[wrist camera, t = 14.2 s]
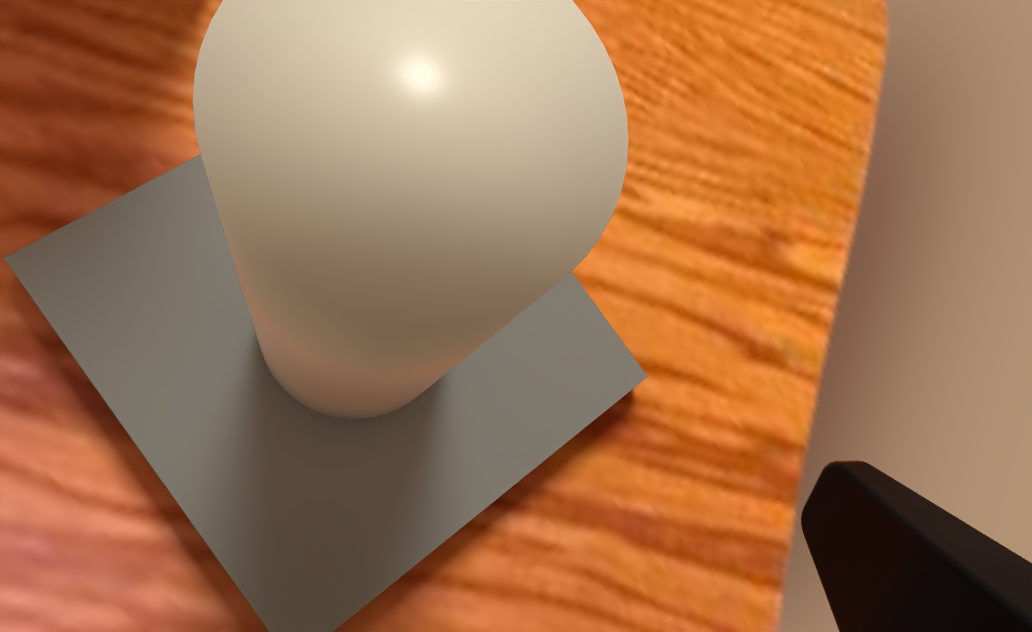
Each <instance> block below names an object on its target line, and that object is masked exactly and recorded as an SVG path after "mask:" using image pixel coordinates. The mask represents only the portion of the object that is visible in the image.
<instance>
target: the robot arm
mask: <svg viewBox="0 0 1032 632" xmlns="http://www.w3.org/2000/svg"><path fill="white" fill-rule="evenodd" d="M801 525H802V531H803V534H804V537H805V539H806V542H807V545H808V548H809V550H810V553H811V556H812V558H813V561H814V564H815V566H816V569H817V572H818V574H819V577H820V580H821V583H822V585H823V588H824V591H825V594H826V596H827V599H828V602H829V604H830V607H831V610H832V612H833V615H834V618H835V621H836V623H837V626H838V629H839V631H840V632H1032V563H1030V562H1029V561H1027V560H1025V559H1024V558H1022V557H1021V556H1019V555H1017V554H1016V553H1014V552H1012V551H1011V550H1009V549H1007V548H1006V547H1004V546H1003V545H1001V544H999V543H998V542H996V541H994V540H993V539H991V538H989V537H988V536H986V535H984V534H983V533H981V532H979V531H978V530H976V529H975V528H973V527H971V526H970V525H968V524H966V523H965V522H963V521H962V520H960V519H958V518H957V517H955V516H953V515H952V514H950V513H948V512H947V511H945V510H943V509H942V508H940V507H939V506H937V505H935V504H934V503H932V502H930V501H929V500H927V499H925V498H924V497H922V496H921V495H919V494H917V493H916V492H914V491H912V490H911V489H909V488H908V487H906V486H904V485H903V484H901V483H899V482H898V481H896V480H894V479H893V478H891V477H890V476H888V475H886V474H885V473H883V472H881V471H880V470H878V469H876V468H875V467H873V466H871V465H870V464H868V463H865V462H863V461H834V462H830V463H829V464H828V465H826V466H825V467H824V469H823V470H822V472H821V474H820V476H819V478H818V480H817V482H816V484H815V486H814V488H813V490H812V492H811V494H810V496H809V498H808V500H807V502H806V504H805V506H804V508H803V511H802V516H801Z"/></svg>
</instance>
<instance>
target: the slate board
mask: <svg viewBox="0 0 1032 632" xmlns="http://www.w3.org/2000/svg"><path fill="white" fill-rule="evenodd" d="M4 260H5V261H6V263H7V264H8V266H9V267H10V268H11V270H12V271H13V273H14V274H15V275H16V277H17V278H18V280H19V281H20V282H21V284H22V285H23V287H24V288H25V289H26V291H27V292H28V294H29V295H30V296H31V298H32V299H33V301H34V302H35V303H36V305H37V306H38V308H39V309H40V311H41V312H42V313H43V315H44V316H45V318H46V319H47V320H48V322H49V323H50V325H51V326H52V327H53V329H54V330H55V332H56V333H57V334H58V336H59V337H60V339H61V340H62V341H63V343H64V344H65V346H66V347H67V348H68V350H69V351H70V353H71V354H72V355H73V357H74V358H75V360H76V361H77V363H78V364H79V365H80V367H81V368H82V370H83V371H84V372H85V374H86V375H87V377H88V378H89V379H90V381H91V382H92V384H93V385H94V386H95V388H96V389H97V391H98V392H99V393H100V395H101V396H102V398H103V399H104V400H105V402H106V403H107V405H108V406H109V408H110V409H111V410H112V412H113V413H114V415H115V416H116V417H117V419H118V420H119V422H120V423H121V424H122V426H123V427H124V429H125V430H126V431H127V433H128V434H129V436H130V437H131V438H132V440H133V441H134V443H135V444H136V445H137V447H138V448H139V450H140V451H141V452H142V454H143V455H144V457H145V458H146V460H147V461H148V462H149V464H150V465H151V467H152V468H153V469H154V471H155V472H156V474H157V475H158V476H159V478H160V479H161V481H162V482H163V483H164V485H165V486H166V488H167V489H168V490H169V492H170V493H171V495H172V496H173V497H174V499H175V500H176V502H177V503H178V504H179V506H180V507H181V509H182V510H183V512H184V513H185V514H186V516H187V517H188V519H189V520H190V521H191V523H192V524H193V526H194V527H195V528H196V530H197V531H198V533H199V534H200V535H201V537H202V538H203V540H204V541H205V542H206V544H207V545H208V547H209V548H210V549H211V551H212V552H213V554H214V555H215V557H216V558H217V559H218V561H219V562H220V564H221V565H222V566H223V568H224V569H225V571H226V572H227V573H228V575H229V576H230V578H231V579H232V580H233V582H234V583H235V585H236V586H237V587H238V589H239V590H240V592H241V593H242V594H243V596H244V597H245V599H246V600H247V601H248V603H249V604H250V606H251V607H252V609H253V610H254V611H255V613H256V614H257V616H258V617H259V618H260V620H261V621H262V623H263V624H264V625H265V627H266V628H267V630H268V631H269V632H334V631H335V630H336V629H337V628H339V627H340V626H341V625H342V624H344V623H345V622H346V621H347V620H348V619H350V618H351V617H352V616H353V615H355V614H356V613H357V612H358V611H360V610H361V609H362V608H363V607H365V606H366V605H367V604H368V603H369V602H371V601H372V600H373V599H374V598H376V597H377V596H378V595H379V594H381V593H382V592H383V591H384V590H385V589H387V588H388V587H389V586H390V585H392V584H393V583H394V582H395V581H397V580H398V579H399V578H400V577H401V576H403V575H404V574H405V573H406V572H408V571H409V570H410V569H411V568H413V567H414V566H415V565H416V564H418V563H419V562H420V561H421V560H422V559H424V558H425V557H426V556H427V555H429V554H430V553H431V552H432V551H434V550H435V549H436V548H437V547H438V546H440V545H441V544H442V543H443V542H445V541H446V540H447V539H448V538H450V537H451V536H452V535H453V534H454V533H456V532H457V531H458V530H459V529H461V528H462V527H463V526H464V525H466V524H467V523H468V522H469V521H471V520H472V519H473V518H474V517H475V516H477V515H478V514H479V513H480V512H482V511H483V510H484V509H485V508H487V507H488V506H489V505H490V504H491V503H493V502H494V501H495V500H496V499H498V498H499V497H500V496H501V495H503V494H504V493H505V492H506V491H508V490H509V489H510V488H511V487H512V486H514V485H515V484H516V483H517V482H519V481H520V480H521V479H522V478H524V477H525V476H526V475H527V474H528V473H530V472H531V471H532V470H533V469H535V468H536V467H537V466H538V465H540V464H541V463H542V462H543V461H544V460H546V459H547V458H548V457H549V456H551V455H552V454H553V453H554V452H556V451H557V450H558V449H559V448H561V447H562V446H563V445H564V444H565V443H567V442H568V441H569V440H570V439H572V438H573V437H574V436H575V435H577V434H578V433H579V432H580V431H581V430H583V429H584V428H585V427H586V426H588V425H589V424H590V423H591V422H593V421H594V420H595V419H596V418H597V417H599V416H600V415H601V414H602V413H604V412H605V411H606V410H607V409H609V408H610V407H611V406H612V405H614V404H615V403H616V402H617V401H618V400H620V399H621V398H622V397H623V396H625V395H626V394H627V393H628V392H630V391H631V390H632V389H633V388H634V387H636V386H637V385H638V384H639V383H641V382H642V381H643V380H644V379H646V378H647V377H648V376H647V375H646V373H645V372H644V371H643V369H642V368H641V367H640V365H639V364H638V362H637V361H636V360H635V358H634V357H633V356H632V354H631V353H630V351H629V350H628V349H627V347H626V346H625V345H624V343H623V342H622V340H621V339H620V338H619V336H618V335H617V334H616V332H615V331H614V329H613V328H612V327H611V325H610V324H609V323H608V321H607V320H606V318H605V317H604V316H603V314H602V313H601V312H600V310H599V309H598V307H597V306H596V305H595V303H594V302H593V301H592V299H591V298H590V296H589V295H588V294H587V292H586V291H585V290H584V288H583V287H582V285H581V284H580V283H579V281H578V280H577V279H576V277H575V276H574V274H573V273H572V272H570V273H569V274H568V275H567V276H566V277H565V278H564V279H562V280H561V281H560V282H559V283H557V284H556V285H555V286H554V287H552V288H551V289H550V290H549V291H547V292H546V293H545V294H544V295H542V296H541V297H540V298H539V299H538V300H536V301H535V302H534V303H533V304H531V305H530V306H529V307H528V308H526V309H525V310H524V311H523V312H521V313H520V314H519V315H518V316H517V317H515V318H514V319H513V320H512V321H510V322H509V323H508V324H507V325H505V326H504V327H503V328H502V329H500V330H499V331H498V332H497V333H496V334H494V335H493V336H492V337H491V338H489V339H488V340H487V341H486V342H484V343H483V344H482V345H481V346H479V347H478V348H477V349H476V350H475V351H473V352H472V353H471V354H470V355H468V356H467V357H466V358H465V359H463V360H462V361H461V362H460V363H458V364H457V365H456V366H455V367H454V368H452V369H451V370H450V371H449V372H447V373H446V374H445V375H444V376H442V377H441V378H440V379H439V380H437V381H436V382H435V383H434V384H433V385H431V386H430V387H429V388H428V389H426V390H425V391H424V392H423V393H421V394H420V395H419V396H418V397H416V398H415V399H414V400H412V401H411V402H410V403H408V404H407V405H405V406H403V407H401V408H400V409H398V410H395V411H393V412H391V413H388V414H385V415H382V416H378V417H374V418H367V419H343V418H335V417H331V416H328V415H324V414H321V413H319V412H316V411H314V410H311V409H309V408H308V407H306V406H304V405H303V404H301V403H299V402H298V401H297V400H295V399H294V398H293V397H291V396H290V395H289V394H288V393H287V392H286V391H285V390H284V389H283V388H282V387H281V386H280V385H279V383H278V382H277V381H276V379H275V378H274V377H273V375H272V374H271V372H270V370H269V368H268V366H267V365H266V362H265V360H264V357H263V354H262V352H261V348H260V345H259V342H258V339H257V335H256V332H255V329H254V326H253V323H252V319H251V316H250V313H249V310H248V306H247V303H246V300H245V297H244V293H243V290H242V287H241V284H240V280H239V277H238V274H237V271H236V268H235V264H234V261H233V258H232V255H231V251H230V248H229V245H228V242H227V238H226V235H225V232H224V229H223V225H222V222H221V219H220V216H219V213H218V209H217V206H216V203H215V200H214V196H213V193H212V190H211V187H210V183H209V180H208V177H207V174H206V170H205V167H204V164H203V161H202V157H201V154H200V155H198V156H196V157H194V158H192V159H191V160H189V161H187V162H185V163H183V164H181V165H179V166H177V167H175V168H173V169H172V170H170V171H168V172H166V173H164V174H162V175H160V176H158V177H156V178H154V179H153V180H151V181H149V182H147V183H145V184H143V185H141V186H139V187H137V188H135V189H134V190H132V191H130V192H128V193H126V194H124V195H122V196H120V197H118V198H116V199H115V200H113V201H111V202H109V203H107V204H105V205H103V206H101V207H99V208H97V209H96V210H94V211H92V212H90V213H88V214H86V215H84V216H82V217H80V218H78V219H77V220H75V221H73V222H71V223H69V224H67V225H65V226H63V227H61V228H59V229H58V230H56V231H54V232H52V233H50V234H48V235H46V236H44V237H42V238H40V239H39V240H37V241H35V242H33V243H31V244H29V245H27V246H25V247H23V248H21V249H20V250H18V251H16V252H14V253H12V254H10V255H8V256H6V257H4Z"/></svg>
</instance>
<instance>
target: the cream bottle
mask: <svg viewBox="0 0 1032 632" xmlns="http://www.w3.org/2000/svg"><path fill="white" fill-rule="evenodd" d="M193 110H194V123H195V132H196V136H197V140H198V144H199V149H200V153H201V157H202V161H203V164H204V167H205V170H206V174H207V177H208V180H209V183H210V187H211V190H212V193H213V196H214V200H215V203H216V206H217V209H218V213H219V216H220V219H221V222H222V225H223V229H224V232H225V235H226V238H227V242H228V245H229V248H230V251H231V255H232V258H233V261H234V264H235V268H236V271H237V274H238V277H239V280H240V284H241V287H242V290H243V293H244V297H245V300H246V303H247V306H248V310H249V313H250V316H251V319H252V323H253V326H254V329H255V332H256V335H257V339H258V342H259V345H260V348H261V352H262V354H263V357H264V360H265V362H266V365H267V366H268V368H269V370H270V372H271V374H272V375H273V377H274V378H275V379H276V381H277V382H278V383H279V385H280V386H281V387H282V388H283V389H284V390H285V391H286V392H287V393H288V394H289V395H290V396H291V397H293V398H294V399H295V400H297V401H298V402H299V403H301V404H303V405H304V406H306V407H308V408H309V409H311V410H314V411H316V412H319V413H321V414H324V415H328V416H331V417H335V418H343V419H367V418H374V417H378V416H382V415H385V414H388V413H391V412H393V411H395V410H398V409H400V408H401V407H403V406H405V405H407V404H408V403H410V402H411V401H412V400H414V399H415V398H416V397H418V396H419V395H420V394H421V393H423V392H424V391H425V390H426V389H428V388H429V387H430V386H431V385H433V384H434V383H435V382H436V381H437V380H439V379H440V378H441V377H442V376H444V375H445V374H446V373H447V372H449V371H450V370H451V369H452V368H454V367H455V366H456V365H457V364H458V363H460V362H461V361H462V360H463V359H465V358H466V357H467V356H468V355H470V354H471V353H472V352H473V351H475V350H476V349H477V348H478V347H479V346H481V345H482V344H483V343H484V342H486V341H487V340H488V339H489V338H491V337H492V336H493V335H494V334H496V333H497V332H498V331H499V330H500V329H502V328H503V327H504V326H505V325H507V324H508V323H509V322H510V321H512V320H513V319H514V318H515V317H517V316H518V315H519V314H520V313H521V312H523V311H524V310H525V309H526V308H528V307H529V306H530V305H531V304H533V303H534V302H535V301H536V300H538V299H539V298H540V297H541V296H542V295H544V294H545V293H546V292H547V291H549V290H550V289H551V288H552V287H554V286H555V285H556V284H557V283H559V282H560V281H561V280H562V279H564V278H565V277H566V276H567V275H568V274H569V273H570V272H571V271H572V270H573V269H574V268H575V267H576V266H577V265H578V264H579V263H580V262H581V261H582V260H583V259H584V258H585V257H586V256H587V255H588V253H589V252H590V251H591V249H592V248H593V247H594V245H595V244H596V243H597V241H598V240H599V239H600V237H601V236H602V234H603V232H604V230H605V228H606V226H607V224H608V223H609V221H610V219H611V217H612V215H613V213H614V210H615V207H616V205H617V202H618V199H619V196H620V194H621V191H622V186H623V182H624V177H625V172H626V168H627V155H628V126H627V115H626V110H625V104H624V99H623V94H622V91H621V87H620V84H619V81H618V78H617V75H616V72H615V69H614V67H613V65H612V62H611V60H610V58H609V56H608V54H607V51H606V49H605V47H604V45H603V44H602V42H601V40H600V39H599V37H598V35H597V34H596V32H595V30H594V29H593V27H592V25H591V24H590V23H589V21H588V20H587V19H586V17H585V16H584V15H583V13H582V12H581V11H580V10H579V8H578V7H577V6H576V4H575V3H574V2H573V1H572V0H223V2H222V3H221V5H220V7H219V8H218V10H217V12H216V13H215V15H214V17H213V18H212V20H211V22H210V25H209V27H208V30H207V32H206V35H205V37H204V40H203V42H202V45H201V48H200V52H199V57H198V61H197V65H196V70H195V76H194V90H193Z"/></svg>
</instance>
